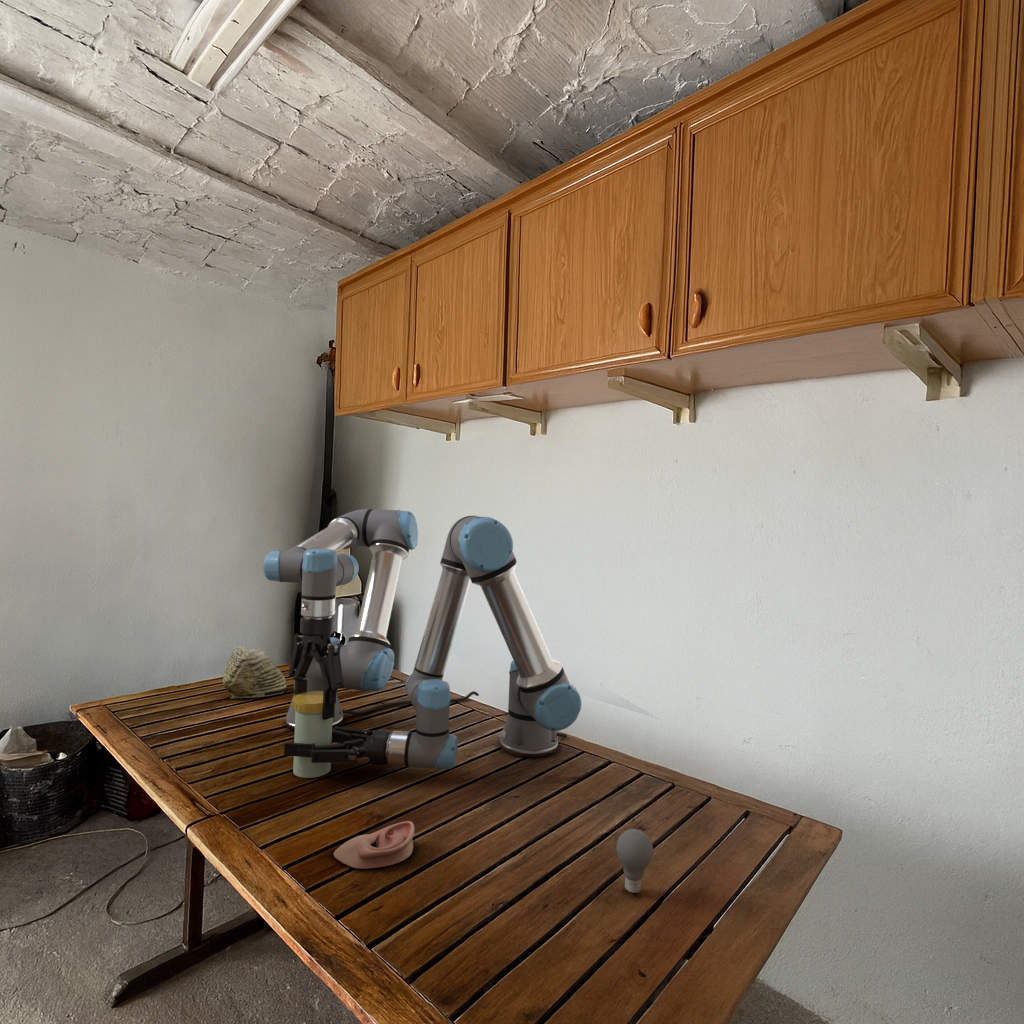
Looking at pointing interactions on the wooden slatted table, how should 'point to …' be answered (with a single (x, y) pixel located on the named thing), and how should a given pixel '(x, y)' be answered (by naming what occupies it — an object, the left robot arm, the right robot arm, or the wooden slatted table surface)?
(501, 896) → the wooden slatted table surface
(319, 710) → the lid
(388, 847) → the anatomical model
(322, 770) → the jar
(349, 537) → the left robot arm
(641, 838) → the light bulb
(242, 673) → the fossil
